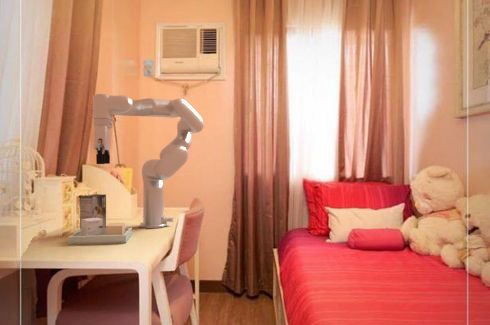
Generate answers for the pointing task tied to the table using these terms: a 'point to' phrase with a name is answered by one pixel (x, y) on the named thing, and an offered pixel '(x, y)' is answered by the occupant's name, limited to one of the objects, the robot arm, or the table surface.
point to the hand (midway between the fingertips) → (103, 163)
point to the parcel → (115, 229)
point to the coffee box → (93, 207)
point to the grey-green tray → (99, 238)
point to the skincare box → (91, 227)
